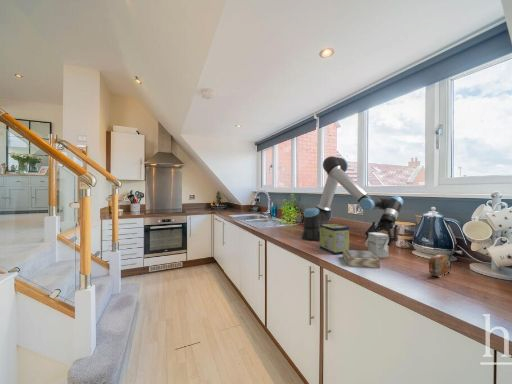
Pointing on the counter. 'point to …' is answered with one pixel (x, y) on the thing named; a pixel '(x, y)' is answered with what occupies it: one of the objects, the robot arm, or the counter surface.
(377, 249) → the supplement box
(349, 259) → the brown shallow tray
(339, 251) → the protein box
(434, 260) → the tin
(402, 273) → the counter surface
